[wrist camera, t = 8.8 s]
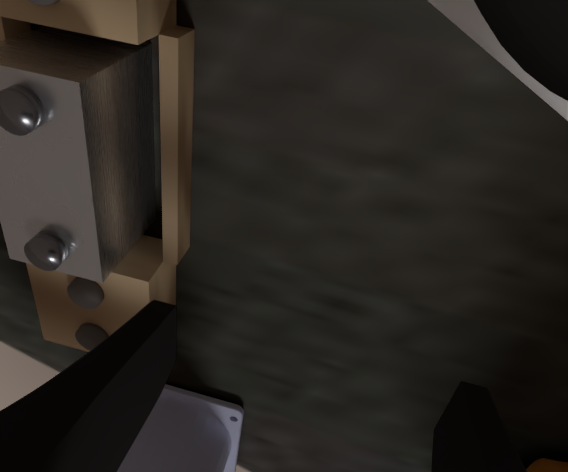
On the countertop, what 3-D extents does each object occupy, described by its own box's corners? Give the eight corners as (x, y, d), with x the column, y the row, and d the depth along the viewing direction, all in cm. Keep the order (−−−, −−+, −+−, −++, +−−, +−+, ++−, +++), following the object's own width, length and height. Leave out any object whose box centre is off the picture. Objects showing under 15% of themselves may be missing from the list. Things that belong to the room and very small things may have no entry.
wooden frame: (187, 331, 27) (161, 379, 24) (65, 298, 28) (26, 341, 25) (199, -190, 14) (146, -211, 11) (-32, -225, 15) (-133, -253, 12)
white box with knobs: (157, 216, 23) (94, 293, 19) (79, 197, 23) (-1, 267, 19) (152, 42, 18) (66, 88, 14) (55, 22, 19) (-59, 61, 14)
